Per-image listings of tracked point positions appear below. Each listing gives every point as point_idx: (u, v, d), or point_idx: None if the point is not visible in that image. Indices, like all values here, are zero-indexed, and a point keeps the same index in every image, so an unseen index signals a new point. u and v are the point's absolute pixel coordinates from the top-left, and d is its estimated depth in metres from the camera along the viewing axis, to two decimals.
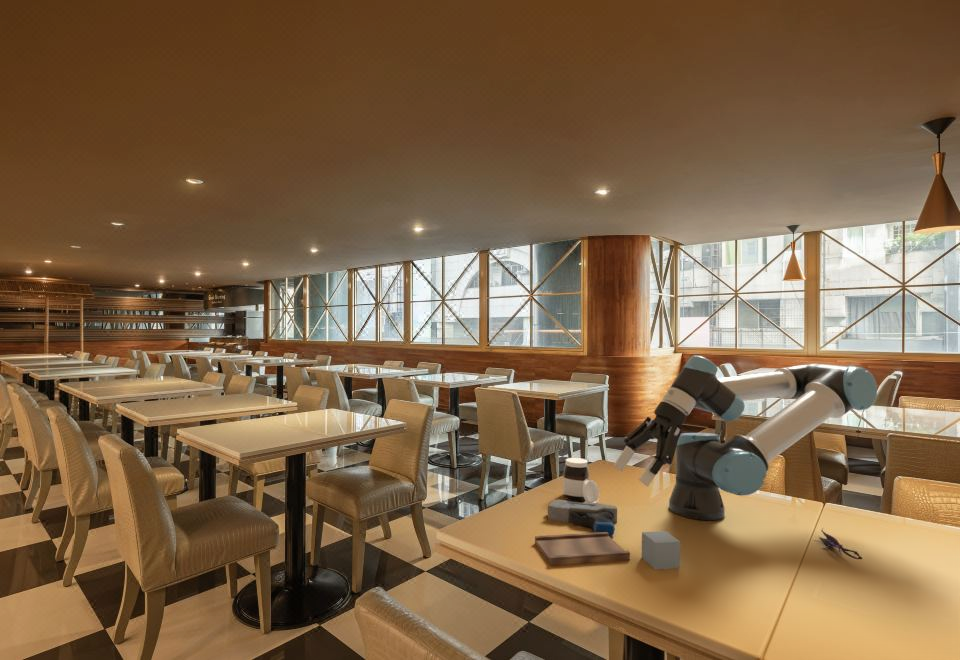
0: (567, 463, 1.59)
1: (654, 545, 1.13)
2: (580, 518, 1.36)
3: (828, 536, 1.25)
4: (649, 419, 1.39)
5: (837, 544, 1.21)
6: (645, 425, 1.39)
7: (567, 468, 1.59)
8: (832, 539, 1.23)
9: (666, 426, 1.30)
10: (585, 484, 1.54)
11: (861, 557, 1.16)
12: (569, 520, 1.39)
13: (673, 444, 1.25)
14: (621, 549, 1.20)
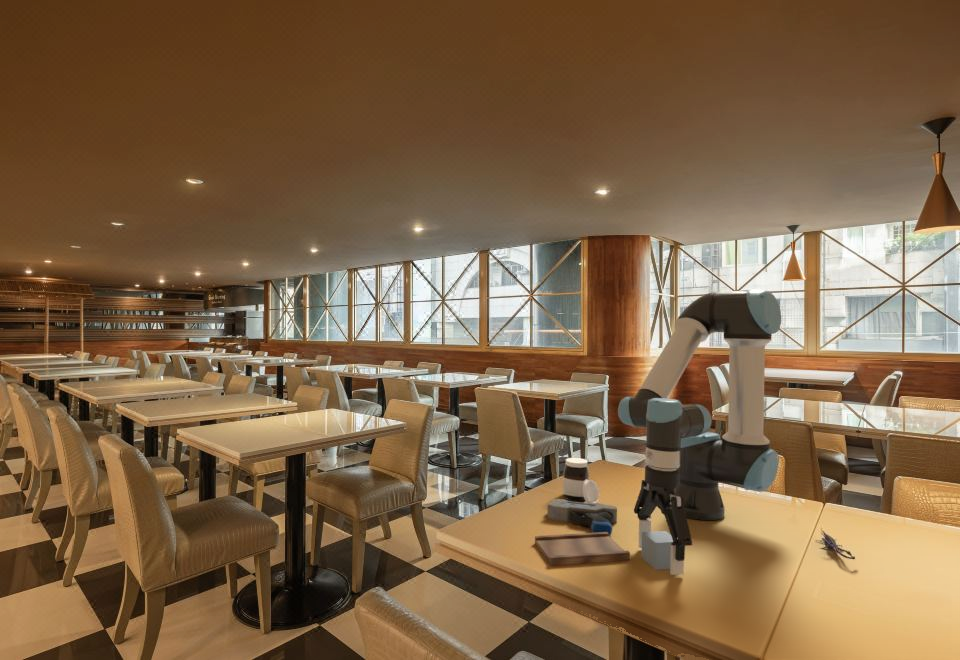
0: (567, 463, 1.59)
1: (654, 545, 1.13)
2: (578, 517, 1.36)
3: (826, 536, 1.25)
4: (645, 482, 1.22)
5: (833, 544, 1.22)
6: (645, 490, 1.22)
7: (567, 468, 1.59)
8: (829, 539, 1.23)
9: (665, 496, 1.13)
10: (585, 484, 1.54)
11: (854, 557, 1.16)
12: (568, 519, 1.40)
13: (682, 519, 1.08)
14: (621, 549, 1.20)
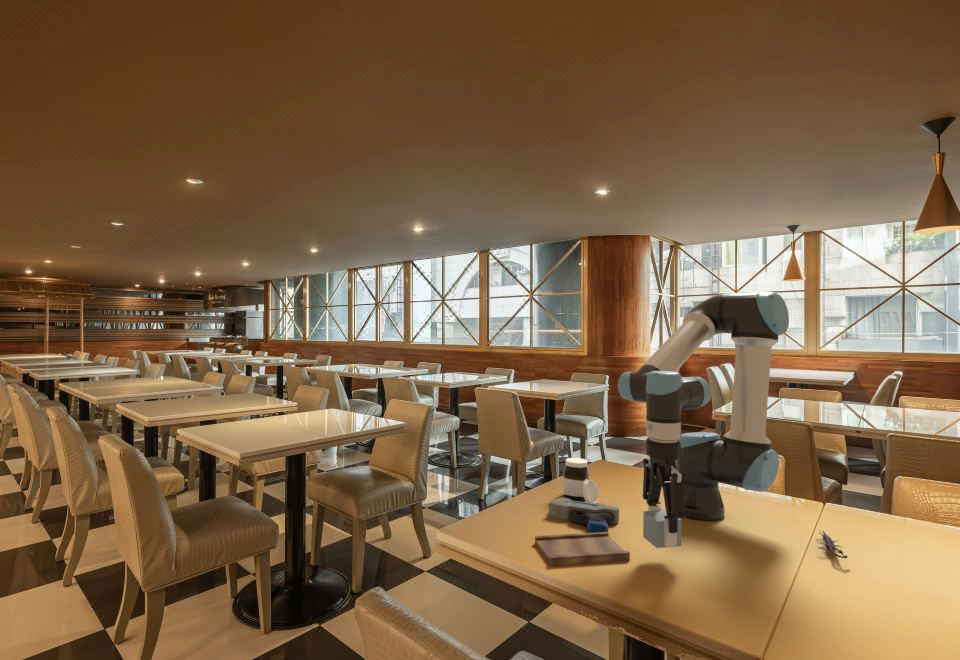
0: (567, 463, 1.59)
1: (656, 524, 1.13)
2: (577, 516, 1.37)
3: (824, 535, 1.25)
4: (646, 460, 1.22)
5: (828, 543, 1.22)
6: (648, 468, 1.21)
7: (567, 468, 1.59)
8: (826, 538, 1.24)
9: (666, 469, 1.13)
10: (585, 484, 1.54)
11: (845, 556, 1.16)
12: (569, 518, 1.41)
13: (679, 495, 1.10)
14: (621, 549, 1.20)
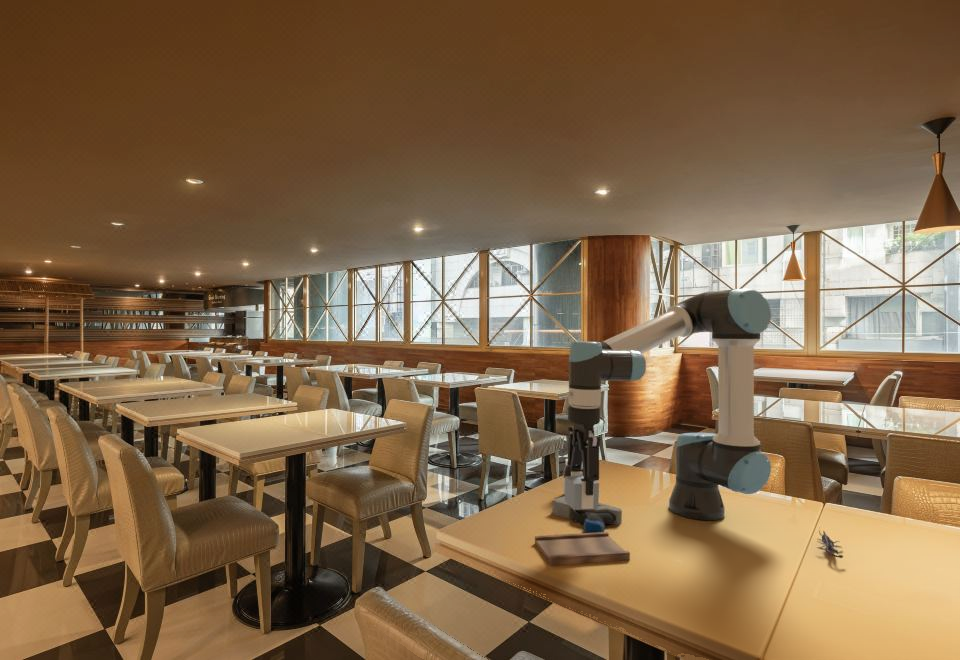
0: None
1: (574, 486, 1.18)
2: (577, 515, 1.38)
3: (823, 535, 1.25)
4: (571, 428, 1.26)
5: (826, 543, 1.22)
6: (572, 436, 1.26)
7: (567, 468, 1.59)
8: (824, 538, 1.24)
9: (584, 433, 1.17)
10: None
11: (841, 555, 1.16)
12: (570, 516, 1.42)
13: (595, 458, 1.15)
14: (621, 549, 1.20)
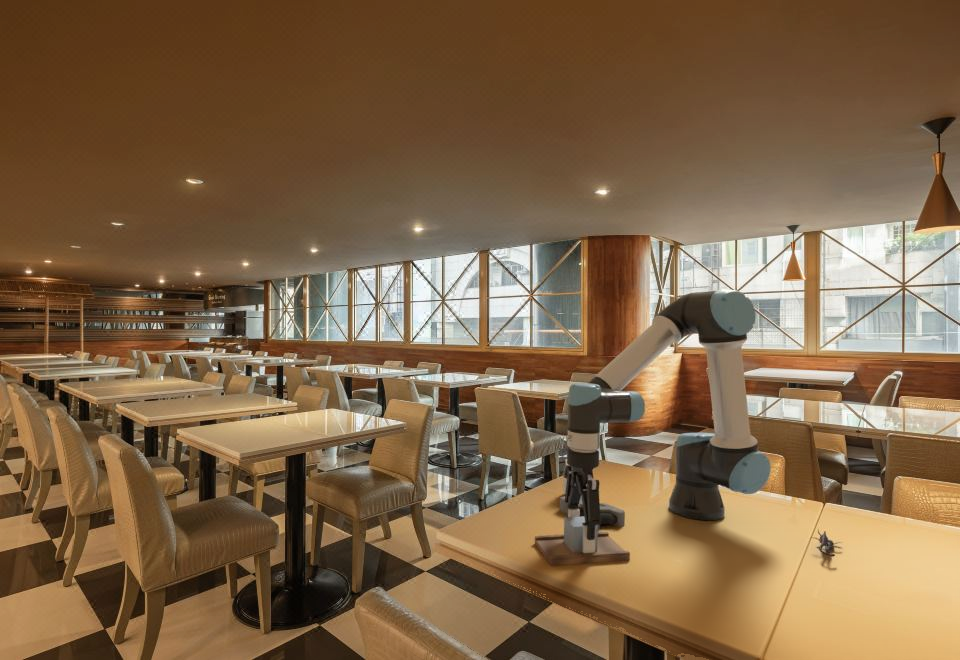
0: None
1: (572, 529, 1.18)
2: None
3: (821, 535, 1.26)
4: (570, 467, 1.26)
5: (821, 542, 1.22)
6: (570, 475, 1.26)
7: None
8: (821, 537, 1.24)
9: (583, 477, 1.17)
10: None
11: (832, 554, 1.17)
12: None
13: (595, 502, 1.14)
14: (621, 549, 1.20)
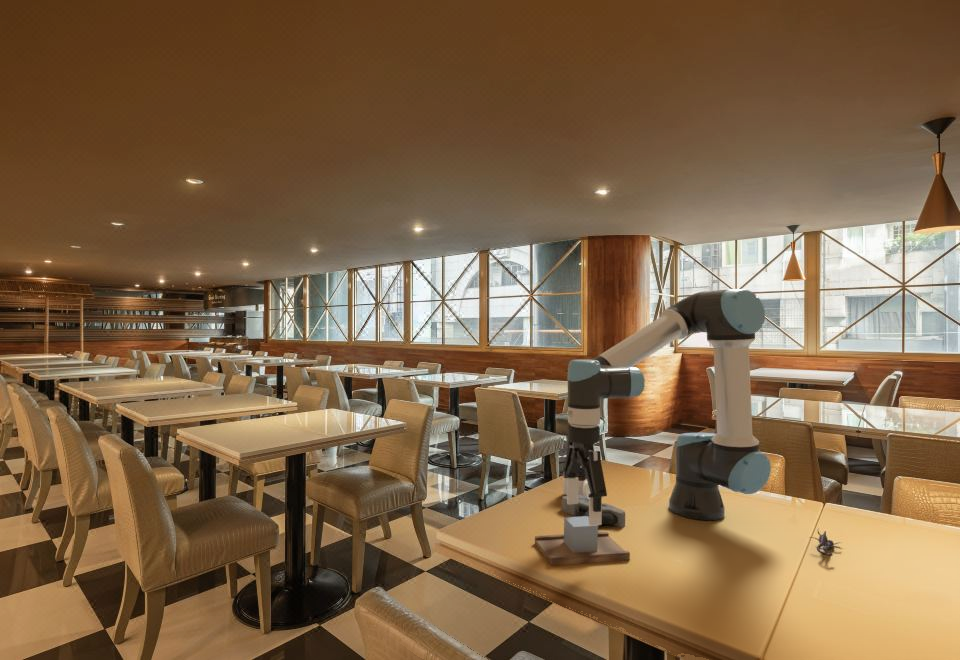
0: None
1: (572, 529, 1.18)
2: (577, 512, 1.40)
3: (821, 535, 1.26)
4: (571, 441, 1.26)
5: (820, 541, 1.23)
6: (571, 449, 1.27)
7: None
8: (820, 537, 1.24)
9: (584, 452, 1.17)
10: (585, 484, 1.54)
11: (829, 554, 1.17)
12: (576, 514, 1.44)
13: (598, 472, 1.13)
14: (621, 549, 1.20)
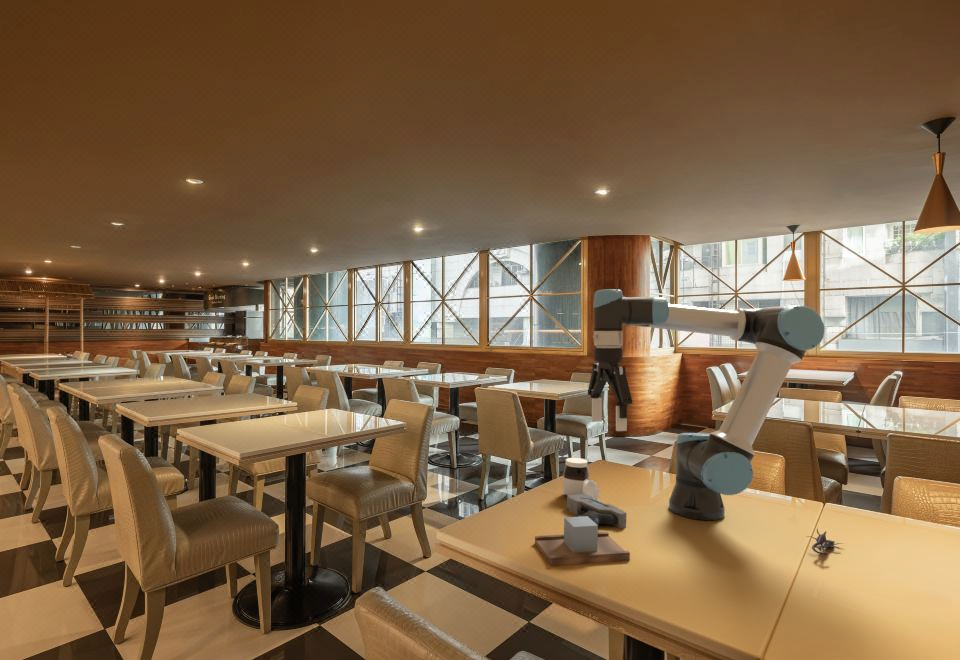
0: (567, 463, 1.59)
1: (572, 529, 1.18)
2: (579, 511, 1.41)
3: (820, 535, 1.26)
4: (595, 365, 1.42)
5: (817, 541, 1.23)
6: (595, 372, 1.42)
7: (567, 468, 1.59)
8: (818, 537, 1.25)
9: (610, 369, 1.33)
10: (585, 484, 1.54)
11: (824, 553, 1.17)
12: None
13: (624, 384, 1.29)
14: (621, 549, 1.20)
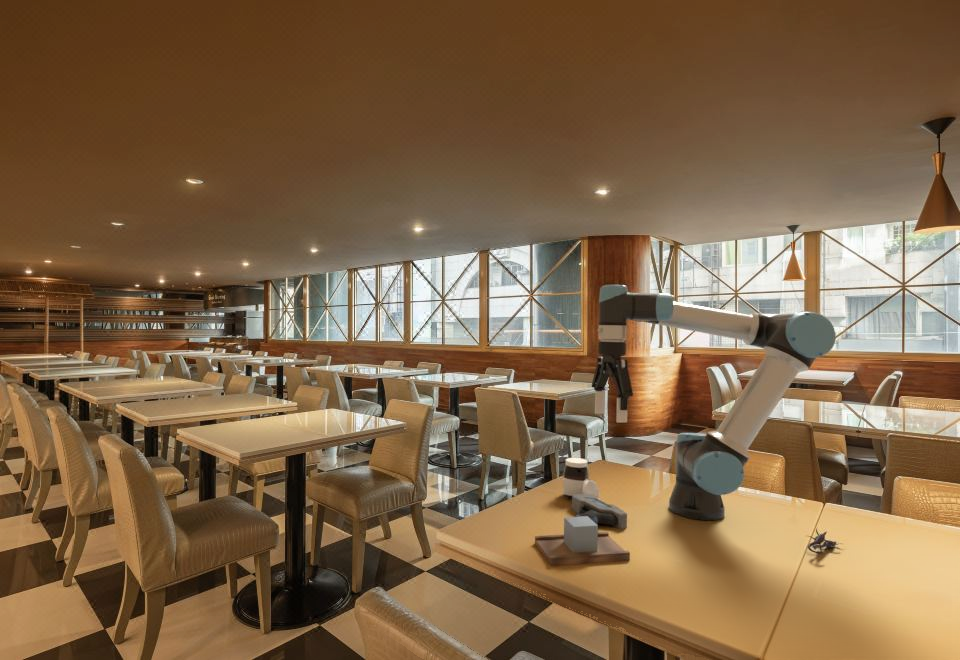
0: (567, 463, 1.59)
1: (572, 529, 1.18)
2: (580, 511, 1.42)
3: None
4: (599, 359, 1.46)
5: (815, 540, 1.23)
6: (599, 365, 1.46)
7: (567, 468, 1.59)
8: (816, 536, 1.25)
9: (613, 362, 1.37)
10: (585, 484, 1.54)
11: (819, 551, 1.18)
12: None
13: (626, 376, 1.33)
14: (621, 549, 1.20)
